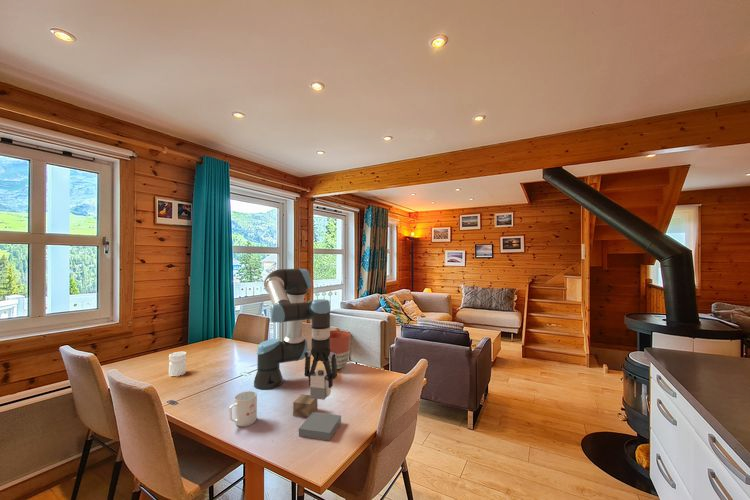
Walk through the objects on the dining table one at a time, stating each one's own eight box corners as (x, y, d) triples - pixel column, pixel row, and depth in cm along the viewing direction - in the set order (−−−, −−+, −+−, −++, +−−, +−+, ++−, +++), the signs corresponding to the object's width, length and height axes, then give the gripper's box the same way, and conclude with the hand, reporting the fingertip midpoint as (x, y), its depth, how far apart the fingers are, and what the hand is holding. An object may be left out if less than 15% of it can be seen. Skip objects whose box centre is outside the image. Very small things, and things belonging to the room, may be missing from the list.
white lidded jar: (169, 378, 177) (170, 357, 177) (167, 373, 183) (167, 353, 184) (187, 374, 183) (187, 354, 183) (184, 370, 189) (184, 350, 189)
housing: (310, 398, 122) (310, 373, 122) (317, 390, 129) (317, 367, 129) (324, 399, 121) (324, 375, 121) (330, 392, 128) (330, 368, 128)
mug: (248, 414, 136) (248, 389, 136) (261, 420, 132) (261, 394, 132) (222, 427, 126) (223, 400, 126) (236, 433, 121) (236, 405, 122)
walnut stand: (293, 415, 135) (293, 402, 135) (301, 407, 143) (301, 394, 143) (309, 418, 133) (310, 404, 133) (317, 408, 141) (317, 395, 141)
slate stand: (298, 436, 120) (298, 428, 120) (312, 419, 132) (312, 412, 132) (329, 440, 117) (329, 432, 117) (341, 422, 129) (341, 415, 130)
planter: (356, 366, 195) (356, 332, 195) (337, 376, 179) (337, 340, 179) (333, 360, 205) (333, 328, 206) (312, 370, 189) (312, 335, 189)
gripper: (295, 338, 124) (295, 396, 123) (339, 341, 119) (339, 401, 119) (303, 334, 131) (303, 388, 131) (345, 336, 127) (345, 392, 126)
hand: (320, 394), depth 125 cm, fingers closed on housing, 6 cm apart
